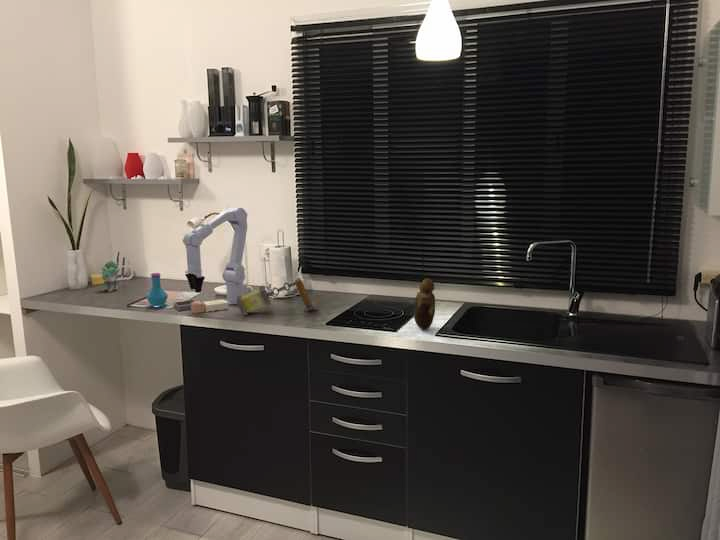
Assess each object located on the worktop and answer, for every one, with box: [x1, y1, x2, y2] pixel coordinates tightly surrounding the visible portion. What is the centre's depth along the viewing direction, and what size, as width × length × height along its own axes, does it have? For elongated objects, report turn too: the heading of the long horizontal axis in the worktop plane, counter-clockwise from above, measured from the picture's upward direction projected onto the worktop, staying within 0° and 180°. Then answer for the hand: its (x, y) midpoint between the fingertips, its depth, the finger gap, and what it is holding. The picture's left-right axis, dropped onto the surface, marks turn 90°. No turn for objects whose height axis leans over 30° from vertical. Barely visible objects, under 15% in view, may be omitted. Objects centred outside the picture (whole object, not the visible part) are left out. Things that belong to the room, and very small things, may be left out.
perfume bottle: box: [146, 272, 169, 307], centre depth 285 cm, size 9×9×15 cm
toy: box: [101, 260, 120, 293], centre depth 318 cm, size 8×9×15 cm
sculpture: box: [413, 278, 436, 330], centre depth 241 cm, size 13×8×20 cm, turn 167°
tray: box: [173, 299, 196, 312], centre depth 282 cm, size 9×9×2 cm
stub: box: [190, 300, 206, 314], centre depth 274 cm, size 4×5×4 cm
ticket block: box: [202, 298, 229, 313], centre depth 278 cm, size 10×7×3 cm
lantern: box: [236, 277, 317, 316], centre depth 271 cm, size 8×17×30 cm
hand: (195, 290), depth 273 cm, fingers open, 7 cm apart
